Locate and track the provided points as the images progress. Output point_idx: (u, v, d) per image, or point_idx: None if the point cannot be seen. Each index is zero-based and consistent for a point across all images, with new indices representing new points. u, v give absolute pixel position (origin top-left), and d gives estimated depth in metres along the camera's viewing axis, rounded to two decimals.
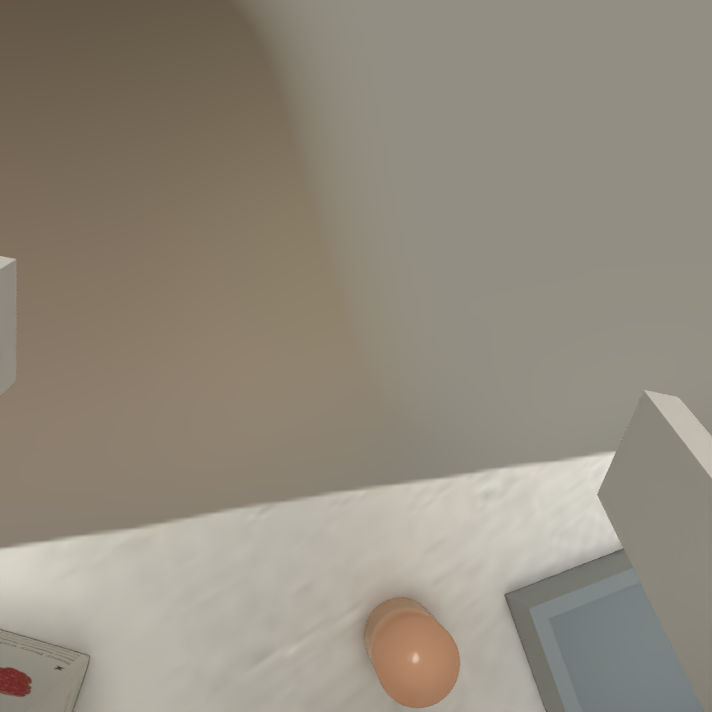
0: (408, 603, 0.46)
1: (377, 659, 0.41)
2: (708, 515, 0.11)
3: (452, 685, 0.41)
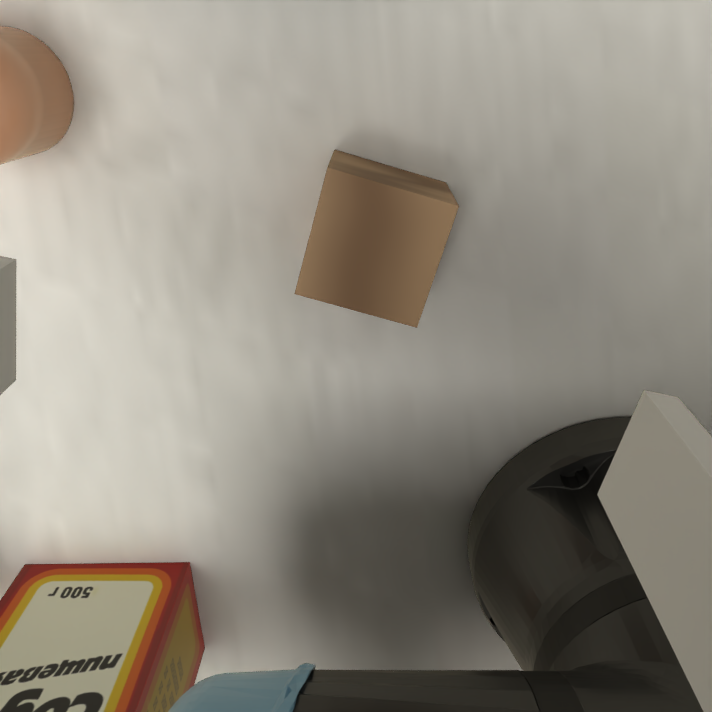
0: None
1: None
2: (708, 515, 0.11)
3: None
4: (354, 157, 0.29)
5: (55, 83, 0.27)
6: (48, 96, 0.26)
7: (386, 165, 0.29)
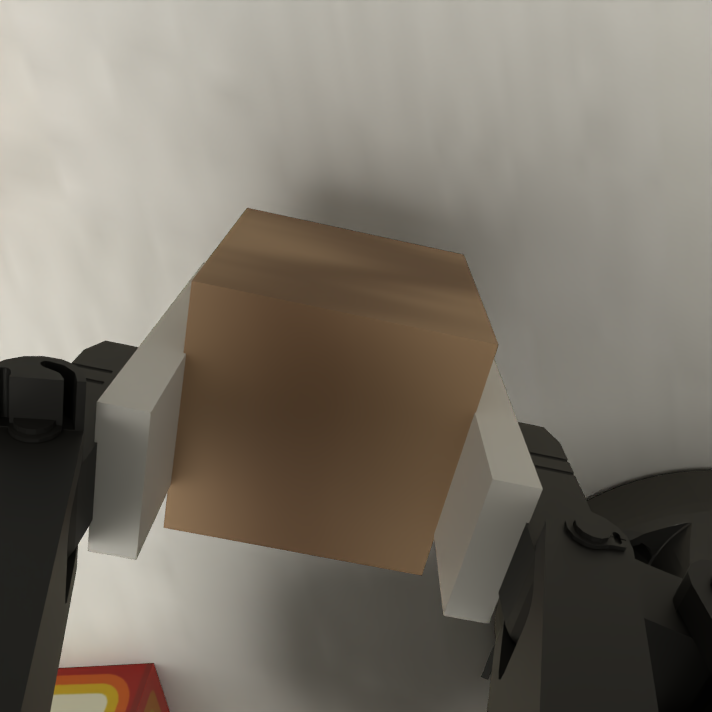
0: None
1: None
2: None
3: None
4: (282, 223, 0.15)
5: None
6: None
7: (347, 232, 0.15)
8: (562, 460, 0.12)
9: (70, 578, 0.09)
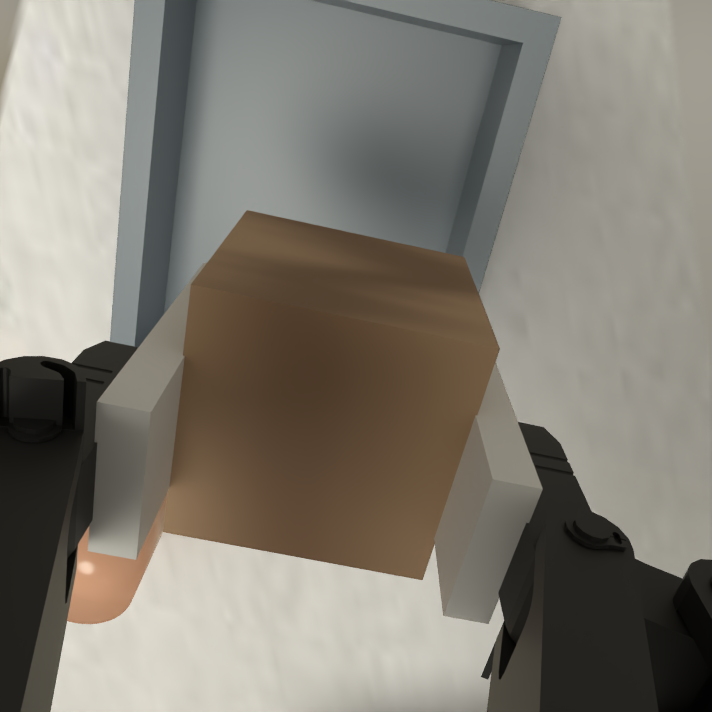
0: None
1: None
2: None
3: (122, 563, 0.30)
4: (282, 226, 0.15)
5: (166, 497, 0.35)
6: (163, 515, 0.34)
7: (347, 234, 0.15)
8: (562, 460, 0.12)
9: (70, 578, 0.09)
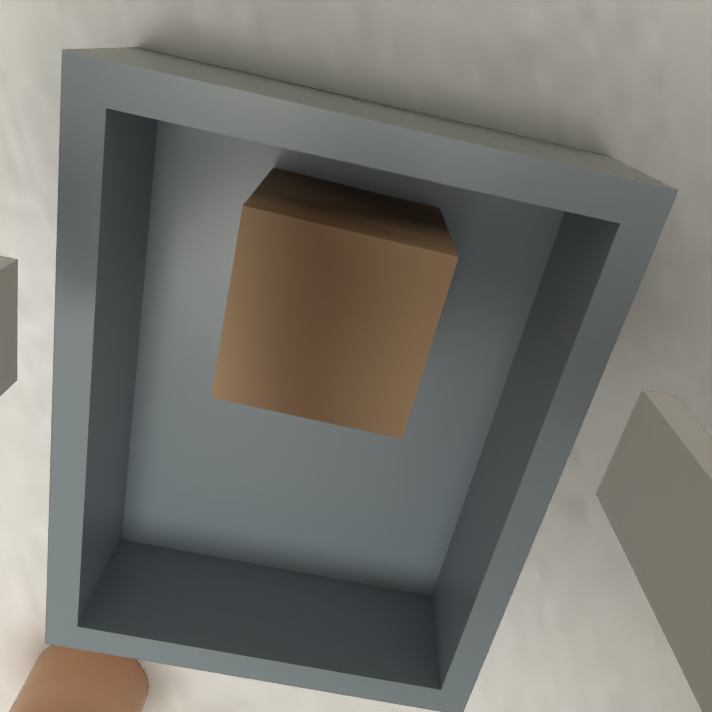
0: (18, 694, 0.28)
1: None
2: (707, 514, 0.11)
3: None
4: (301, 179, 0.19)
5: (134, 701, 0.28)
6: None
7: (350, 188, 0.20)
8: None
9: None
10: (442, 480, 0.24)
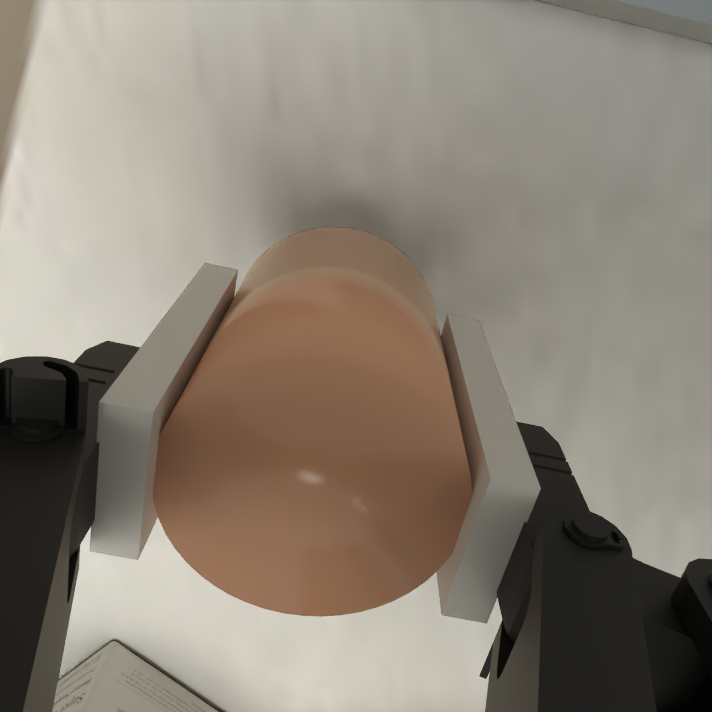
0: (237, 294, 0.15)
1: (228, 586, 0.12)
2: (458, 406, 0.13)
3: (454, 443, 0.10)
4: None
5: None
6: None
7: None
8: (560, 459, 0.12)
9: (72, 578, 0.09)
10: None
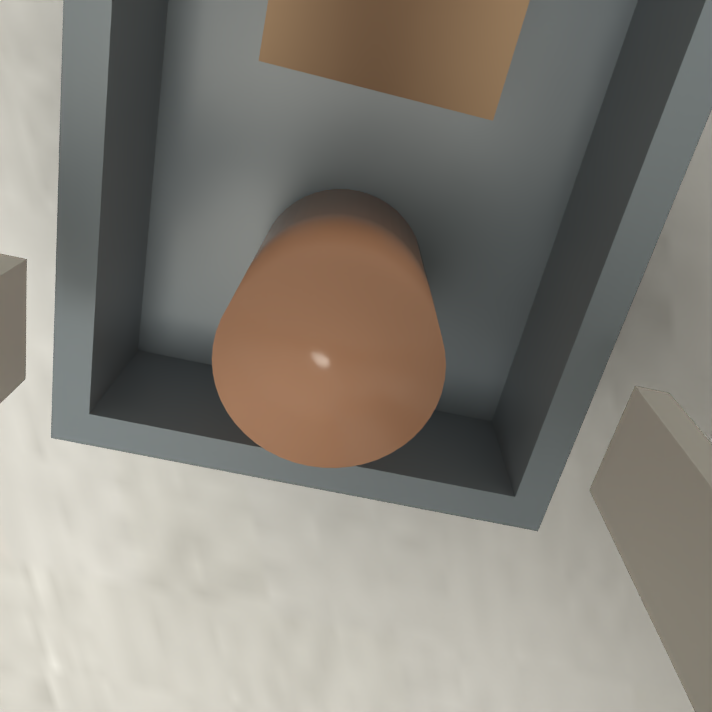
0: (265, 238, 0.19)
1: (265, 445, 0.16)
2: (697, 509, 0.11)
3: (432, 325, 0.14)
4: None
5: None
6: None
7: None
8: None
9: None
10: (511, 267, 0.21)
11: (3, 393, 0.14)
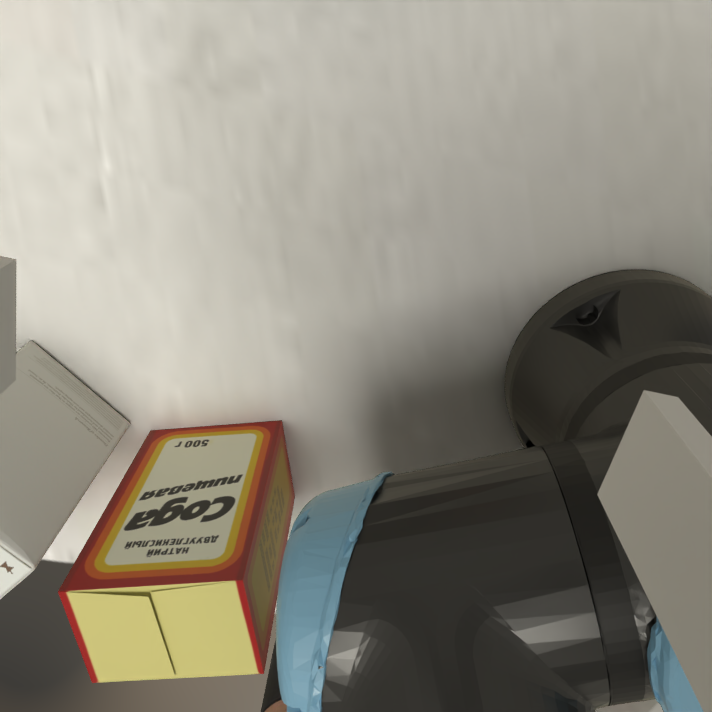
0: None
1: None
2: (708, 515, 0.11)
3: None
4: None
5: None
6: None
7: None
8: None
9: None
10: None
11: None
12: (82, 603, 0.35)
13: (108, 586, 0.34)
